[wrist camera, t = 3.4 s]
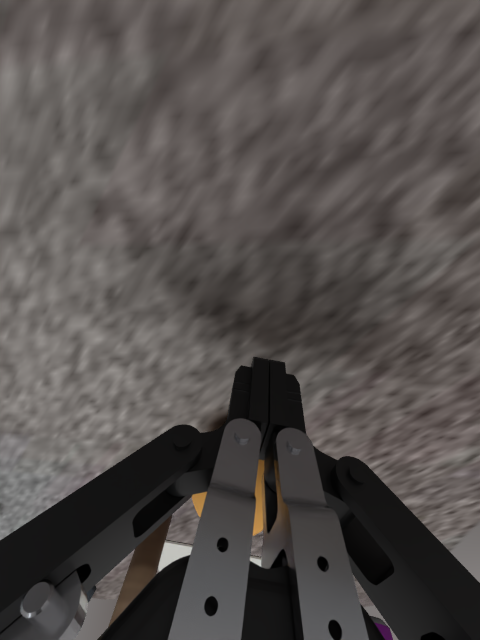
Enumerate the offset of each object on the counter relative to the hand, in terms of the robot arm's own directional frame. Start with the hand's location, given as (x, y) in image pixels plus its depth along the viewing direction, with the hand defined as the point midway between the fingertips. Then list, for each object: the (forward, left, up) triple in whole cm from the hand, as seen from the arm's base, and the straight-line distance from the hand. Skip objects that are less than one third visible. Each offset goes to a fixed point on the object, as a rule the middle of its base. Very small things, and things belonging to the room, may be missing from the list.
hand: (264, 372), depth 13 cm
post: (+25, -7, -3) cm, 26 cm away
